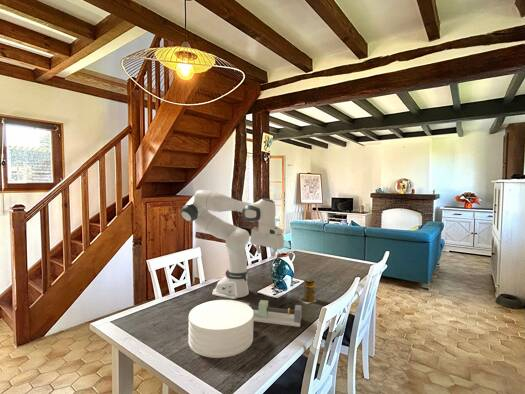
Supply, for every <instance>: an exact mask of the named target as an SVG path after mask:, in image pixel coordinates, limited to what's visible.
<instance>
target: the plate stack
mask: <svg viewBox="0 0 525 394" xmlns="http://www.w3.org/2000/svg"><path fill="white" fill-rule="evenodd" d="M245 303H246V302H241V301H239V300H235V299H216V300H210V301H206V302H203V303H201V304H198V305H196V306H194V307H193V308H192V309H191V310H190V311H189V314H188V340H187V341H188V347H189V348H190V349H191V351H192V352H194V353H196V354H197V355H200V356H202V357H207V358H213V359H216V358H217V359H221V358H229V357H233V356H236V355H238V354H240V353H243V352H244V351H246V350H247V349H248V348H249V347H250V346H251V345H252V343H253V341H254V321H253V315H254V313H253V310H252V308H251V307H250V306H248V305H247V304H245Z"/></svg>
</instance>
